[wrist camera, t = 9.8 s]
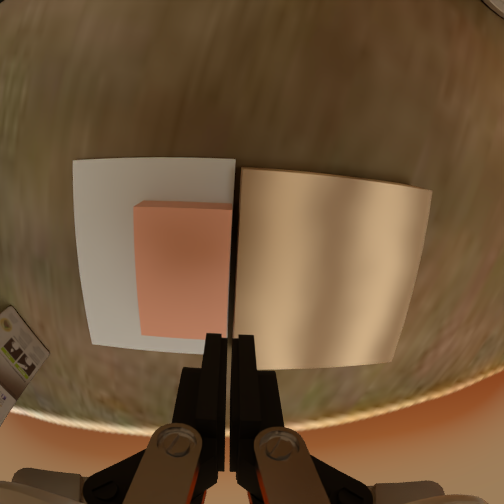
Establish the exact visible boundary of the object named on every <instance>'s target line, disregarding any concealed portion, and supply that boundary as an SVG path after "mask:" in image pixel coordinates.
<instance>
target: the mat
mask: <svg viewBox="0 0 504 504" xmlns="http://www.w3.org/2000/svg"><path fill="white" fill-rule="evenodd" d="M235 162H236V159H221V158H186V157H140V158H106V159H86V160H73V199H74V219H75V233H76V244H77V254H78V263H79V271H80V279H81V286H82V292H83V298H84V304H85V310H86V316H87V321H88V326H89V331H90V336H91V340H92V344H96V345H104V346H112V347H120V348H129V349H139V350H149V351H161V352H173V353H189V354H203V353H204V346H205V340H200V339H183V338H169V337H156V336H145V335H141V327H140V318H139V308H138V297H137V284H136V270H135V251H134V221H133V207H134V206H135V205H137V204H139V203H140V202H142V201H144V200H145V201H183V202H209V203H231V204H232V216H233V197H234V179H235ZM231 236H232V225H231ZM230 258H231V243H230ZM229 281H230V263H229ZM228 306H229V284H228ZM227 335H228V307H227V332H226V338H227Z"/></svg>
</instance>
